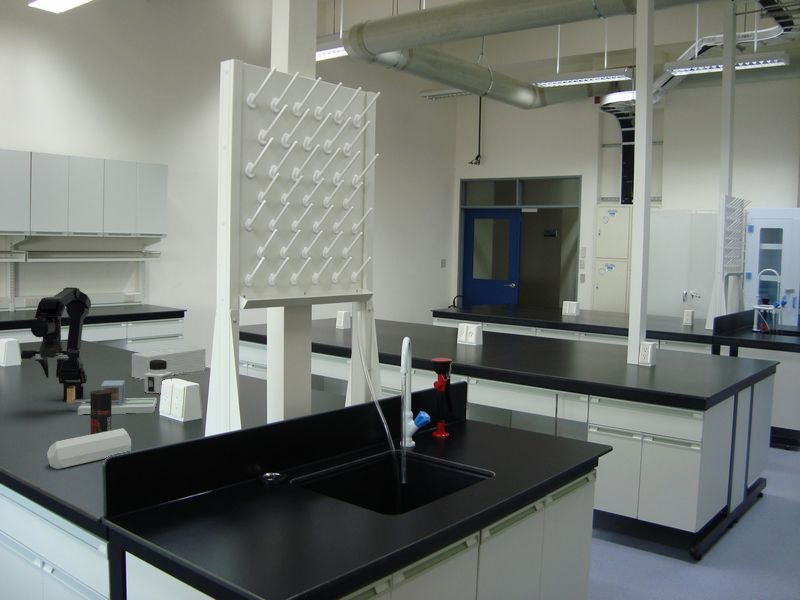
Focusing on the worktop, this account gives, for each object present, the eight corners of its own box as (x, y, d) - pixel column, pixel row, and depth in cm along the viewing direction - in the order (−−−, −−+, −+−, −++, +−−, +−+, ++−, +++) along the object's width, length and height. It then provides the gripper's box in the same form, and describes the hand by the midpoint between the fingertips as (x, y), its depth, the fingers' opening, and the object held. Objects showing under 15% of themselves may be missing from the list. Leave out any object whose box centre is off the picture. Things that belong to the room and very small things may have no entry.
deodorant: (94, 437, 225) (94, 389, 224) (114, 437, 226) (113, 390, 224) (87, 442, 219) (87, 393, 218) (107, 442, 220) (107, 394, 218)
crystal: (120, 433, 217) (38, 450, 198) (131, 426, 212) (49, 442, 194) (126, 457, 215) (45, 476, 196) (138, 450, 211) (55, 468, 192)
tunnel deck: (78, 415, 251) (77, 387, 250) (84, 405, 265) (84, 379, 264) (153, 413, 257) (153, 386, 257) (156, 404, 271) (156, 378, 270)
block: (105, 400, 257) (105, 388, 257) (107, 397, 262) (107, 385, 261) (118, 400, 259) (118, 387, 258) (120, 397, 263) (120, 385, 263)
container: (161, 394, 287) (161, 362, 286) (144, 392, 289) (144, 360, 288) (171, 390, 295) (171, 359, 294) (154, 389, 296) (154, 357, 295)
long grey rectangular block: (190, 368, 345) (190, 346, 344) (205, 371, 339) (205, 348, 338) (131, 378, 318) (131, 353, 318) (146, 381, 312) (147, 356, 311)
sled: (67, 403, 254) (66, 388, 254) (69, 400, 259) (69, 385, 258) (125, 402, 259) (125, 387, 259) (126, 398, 264) (127, 384, 263)
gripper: (16, 336, 243) (17, 382, 244) (76, 336, 248) (76, 381, 249) (24, 332, 254) (25, 376, 255) (82, 332, 258) (82, 375, 260)
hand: (52, 377), depth 254 cm, fingers open, 3 cm apart
